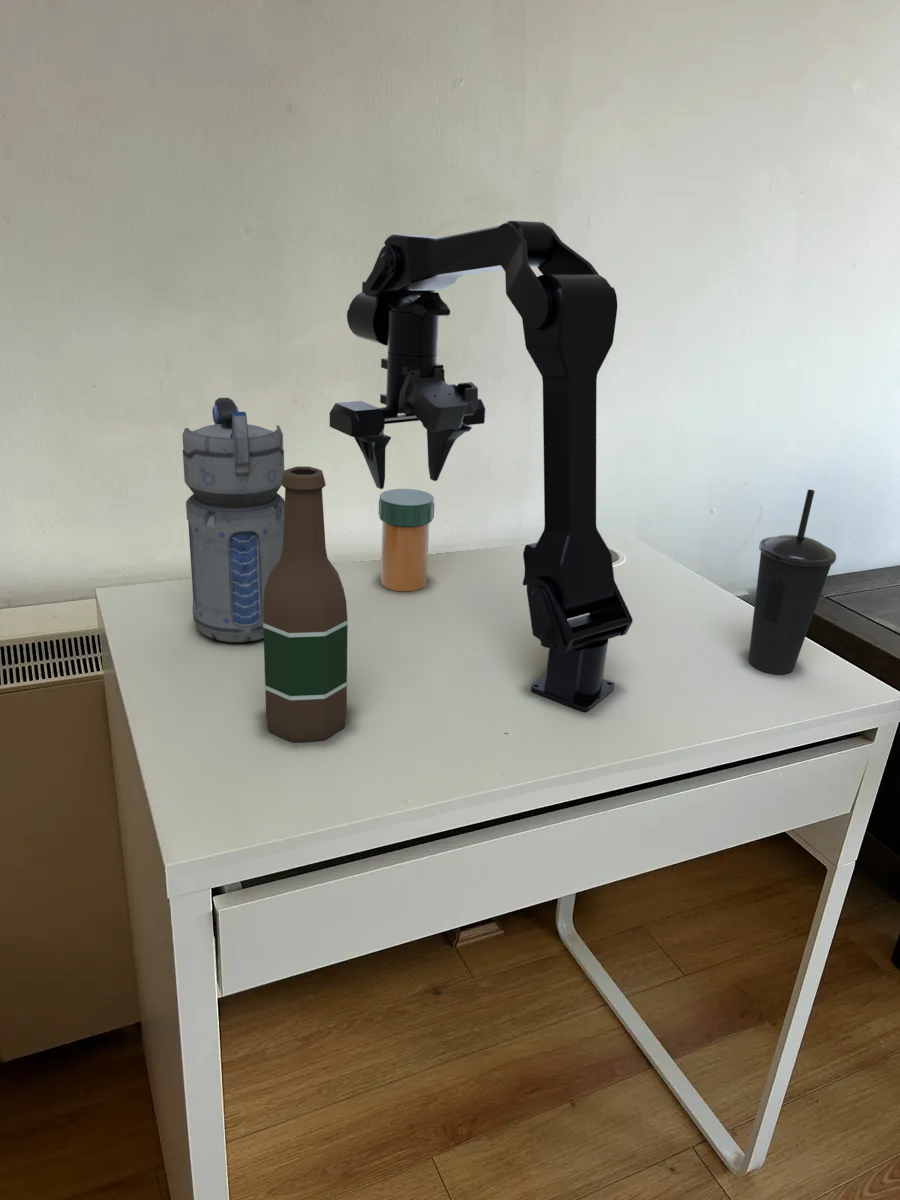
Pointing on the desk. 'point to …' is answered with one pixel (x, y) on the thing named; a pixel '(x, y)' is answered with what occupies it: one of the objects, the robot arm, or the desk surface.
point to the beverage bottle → (233, 520)
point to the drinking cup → (787, 596)
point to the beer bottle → (305, 622)
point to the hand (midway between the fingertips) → (407, 484)
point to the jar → (404, 557)
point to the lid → (406, 507)
